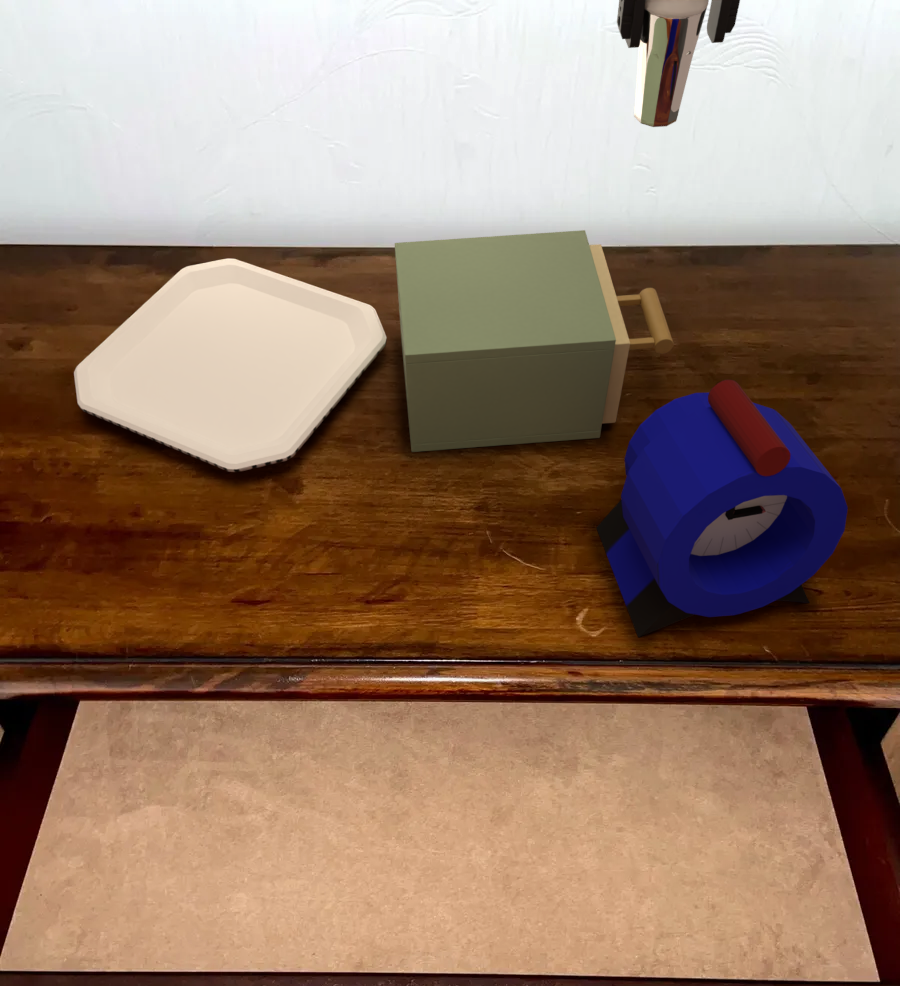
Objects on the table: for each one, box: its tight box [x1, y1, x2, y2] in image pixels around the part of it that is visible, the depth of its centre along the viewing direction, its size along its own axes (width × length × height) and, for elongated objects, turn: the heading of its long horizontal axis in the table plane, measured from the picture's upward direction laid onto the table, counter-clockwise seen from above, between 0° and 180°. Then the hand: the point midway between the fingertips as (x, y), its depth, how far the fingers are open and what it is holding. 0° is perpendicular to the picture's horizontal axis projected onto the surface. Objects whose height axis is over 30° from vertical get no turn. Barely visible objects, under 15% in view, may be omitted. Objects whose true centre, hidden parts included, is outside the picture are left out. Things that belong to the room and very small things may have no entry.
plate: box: [73, 258, 388, 473], centre depth 77 cm, size 21×21×2 cm
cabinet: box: [394, 229, 616, 453], centre depth 72 cm, size 15×13×10 cm
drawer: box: [589, 243, 674, 425], centre depth 73 cm, size 18×11×8 cm, turn 95°
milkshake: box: [633, 0, 709, 128], centre depth 67 cm, size 4×5×10 cm
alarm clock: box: [596, 379, 848, 638], centre depth 60 cm, size 12×12×15 cm
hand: (673, 39), depth 66 cm, fingers closed on milkshake, 5 cm apart
